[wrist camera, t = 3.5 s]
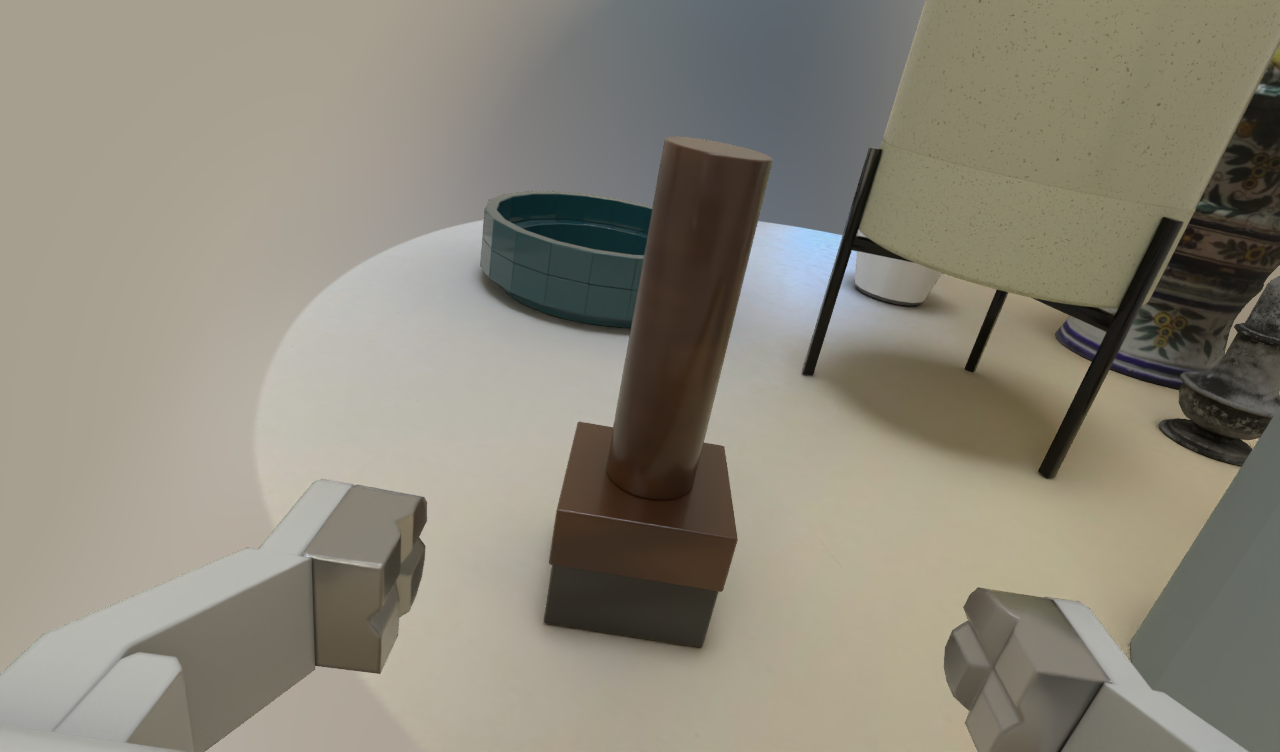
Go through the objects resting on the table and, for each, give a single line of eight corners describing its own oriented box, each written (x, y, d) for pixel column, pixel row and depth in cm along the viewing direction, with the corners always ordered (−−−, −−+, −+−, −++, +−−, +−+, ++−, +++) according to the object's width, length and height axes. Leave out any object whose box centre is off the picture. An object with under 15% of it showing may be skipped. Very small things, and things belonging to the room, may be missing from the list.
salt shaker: (1264, 450, 45) (1378, 271, 40) (1263, 479, 41) (1391, 284, 36) (1159, 411, 48) (1253, 241, 43) (1148, 434, 44) (1251, 249, 39)
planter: (794, 330, 50) (899, -35, 41) (1016, 377, 49) (1178, 16, 40) (812, 430, 36) (978, -87, 27) (1121, 498, 36) (1407, -10, 26)
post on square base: (539, 626, 21) (610, 141, 15) (562, 522, 26) (624, 119, 20) (705, 652, 22) (841, 183, 16) (698, 544, 26) (800, 152, 20)
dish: (438, 295, 45) (442, 217, 42) (528, 240, 60) (535, 180, 57) (691, 357, 43) (709, 279, 41) (719, 283, 58) (733, 224, 55)
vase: (1122, 397, 49) (1384, -105, 37) (986, 309, 65) (1138, -66, 52) (1312, 418, 52) (1615, -39, 40) (1139, 329, 68) (1318, -21, 55)
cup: (943, 325, 58) (985, 214, 54) (824, 291, 61) (856, 184, 57) (945, 296, 66) (982, 199, 63) (841, 268, 69) (870, 174, 66)
